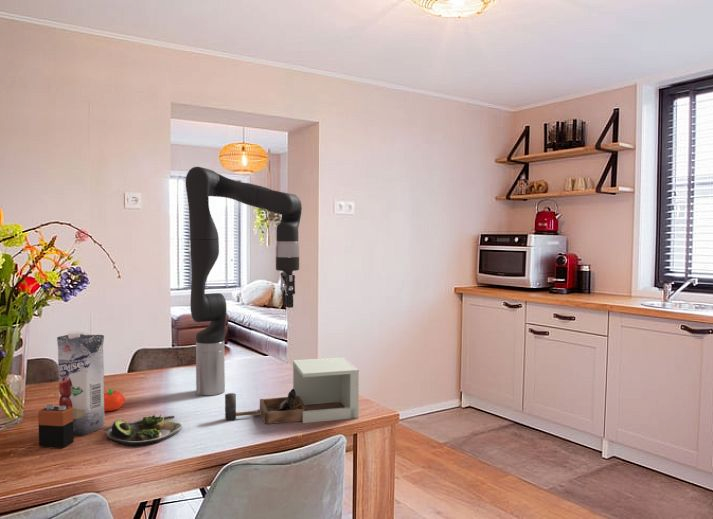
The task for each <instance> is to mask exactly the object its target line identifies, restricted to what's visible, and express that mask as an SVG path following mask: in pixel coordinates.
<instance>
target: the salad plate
mask: <svg viewBox="0 0 713 519" xmlns="http://www.w3.org/2000/svg"><path fill="white" fill-rule="evenodd" d="M174 418H175V415H169V416H163V417H162V414H159V415H158V416H156V415H155V414H154V415H152V416H151V415H149V416H143V417H142V418H139V419H137V420H133V421H132V422H126V421H125V420H122V419H121V420H120V419H115V421H113V423H112V426H109V427H105V428H104V429H103V431H106V434H105V436H106V439H108V440H109V441H110V442H112V443H114V444H117V445H119V446H124V447H129V448H130V447H131V448H132V447H133V448H134V447H136V448H139V447H146V446H151V445H154V444H156V443H157V444H158V443H160V442H162V441H164V440H166V439H168V438H171V437H173V436H174V435H176V434H177V433H178V432H180V431H181V430H182V429H183V425H182V423H180V422H173V421H171V420H173V419H174ZM164 430H165V431H169V433H168V434H165V435H163V436H162V431H164Z"/></svg>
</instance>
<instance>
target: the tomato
mask: <svg viewBox="0 0 713 519" xmlns="http://www.w3.org/2000/svg"><path fill="white" fill-rule="evenodd" d="M125 402H126V397H125V396H124V394H122V393H121V392H120V391H118V390H117V391H116V390H115V391H114V390H112V388H108V392H104V412H113V411H117V410H119V409H120V408H121V407H123V405H124V404H125Z"/></svg>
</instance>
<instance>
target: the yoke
mask: <svg viewBox="0 0 713 519" xmlns="http://www.w3.org/2000/svg"><path fill="white" fill-rule="evenodd" d="M224 397H225V398H224V404H225V405H224V412H225V413H224V419H225V421H228V420H230V421H231V420H232V421H235V420H237V417H241V416H251V415H261V416H262V419H263V422H264V424H265V425H269V424H279V423H282V424H283V423H292V422H301V421H302V411H308V408H307V407H306V405H304V403H302V404H301V405H300V406H298V407H297V408H296V410H287V409H285V410H277V409H278V407H280V405H281V403H282V402H284V401H285V400H288V396H284V397H270V398H269V397H268V398H260V399H259V410H250V411H249V410H248V411H238V412H237V394H236V393H234V392H228V393H226V394H224ZM294 402H296V406H297V405H298V404H300V403H301V402H302V400H301V399H300V397H299V396H296V398H295V400H294V401H293V404H294ZM274 409H276V410H277V411H268V410H274Z"/></svg>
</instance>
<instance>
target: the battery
mask: <svg viewBox="0 0 713 519" xmlns="http://www.w3.org/2000/svg"><path fill="white" fill-rule="evenodd" d="M44 407H45V408H42V409H40V410H39V411H38V412H37V414H38V418H37V421H38V446H39V448H50V447H53V449H64V448H66V447H68V446H70V445H71V444H73V443H74V434H73V408H72V407H66V406H59V405H58V406H56V405H55V404H54V403H50V404H49V403H48V404H45V405H44ZM67 445H68V446H67Z"/></svg>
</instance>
